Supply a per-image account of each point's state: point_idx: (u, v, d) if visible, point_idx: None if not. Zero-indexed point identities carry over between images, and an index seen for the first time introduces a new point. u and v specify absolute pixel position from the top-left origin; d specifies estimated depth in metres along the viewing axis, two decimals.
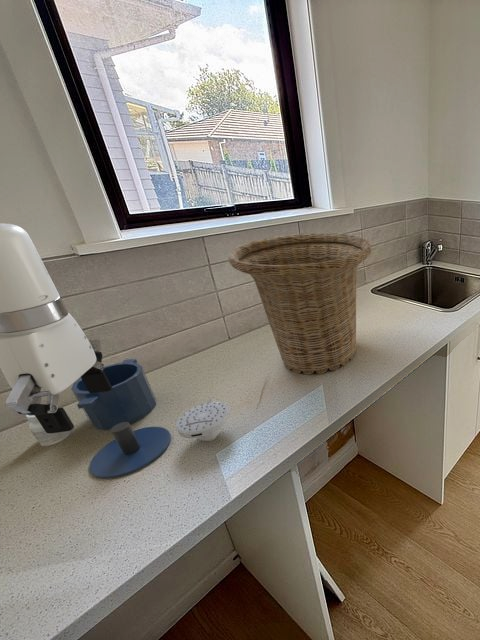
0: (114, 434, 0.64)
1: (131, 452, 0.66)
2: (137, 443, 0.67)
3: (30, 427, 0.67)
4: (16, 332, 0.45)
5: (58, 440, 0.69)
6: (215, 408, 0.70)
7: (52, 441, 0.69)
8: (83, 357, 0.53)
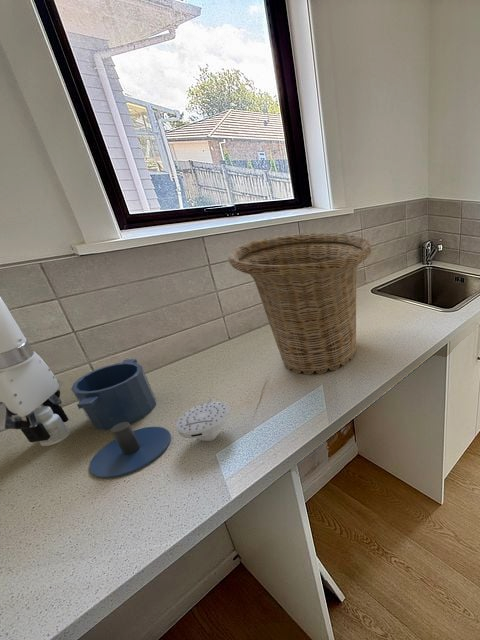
0: (114, 434, 0.64)
1: (131, 452, 0.66)
2: (137, 443, 0.67)
3: None
4: None
5: (58, 440, 0.69)
6: (215, 408, 0.70)
7: (52, 441, 0.69)
8: (47, 386, 0.67)
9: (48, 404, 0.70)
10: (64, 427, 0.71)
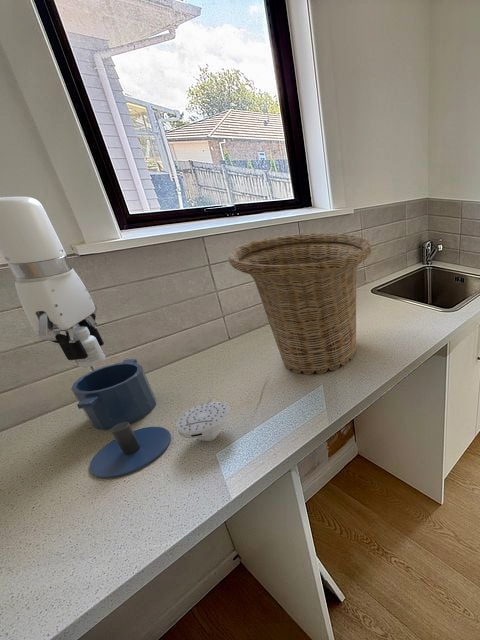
0: (114, 434, 0.64)
1: (131, 452, 0.66)
2: (137, 443, 0.67)
3: None
4: (34, 278, 0.59)
5: (95, 361, 0.70)
6: (215, 408, 0.70)
7: (89, 361, 0.69)
8: (84, 305, 0.68)
9: (84, 326, 0.70)
10: (100, 349, 0.71)
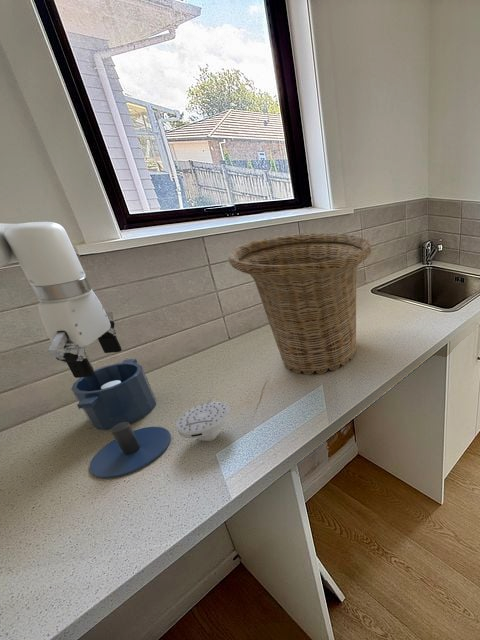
0: (114, 434, 0.64)
1: (131, 452, 0.66)
2: (137, 443, 0.67)
3: None
4: (56, 300, 0.62)
5: None
6: (215, 408, 0.70)
7: None
8: (101, 323, 0.70)
9: (105, 334, 0.74)
10: None
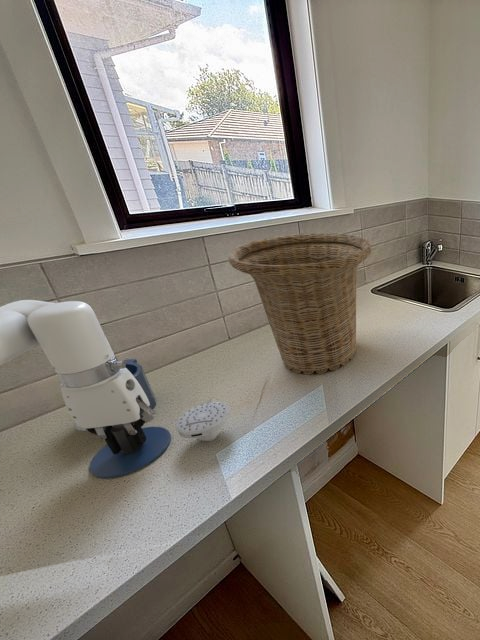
0: (114, 434, 0.64)
1: (131, 452, 0.66)
2: None
3: None
4: None
5: None
6: (215, 408, 0.70)
7: None
8: (114, 415, 0.61)
9: None
10: None
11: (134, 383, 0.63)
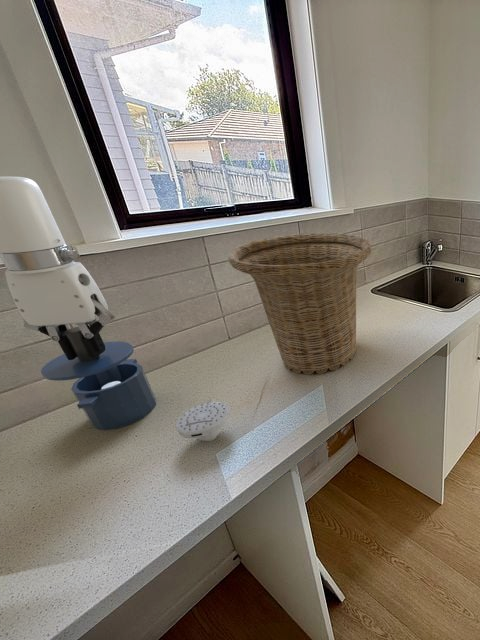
0: (68, 336, 0.59)
1: (88, 359, 0.62)
2: None
3: None
4: None
5: None
6: (215, 408, 0.70)
7: None
8: (65, 311, 0.56)
9: None
10: None
11: (89, 280, 0.58)
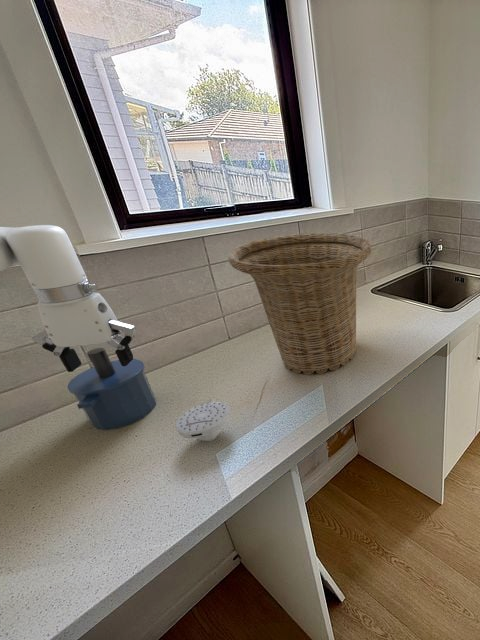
0: (90, 356, 0.70)
1: (106, 376, 0.72)
2: (112, 368, 0.73)
3: None
4: None
5: None
6: (215, 408, 0.70)
7: None
8: (87, 334, 0.67)
9: None
10: None
11: (106, 307, 0.69)
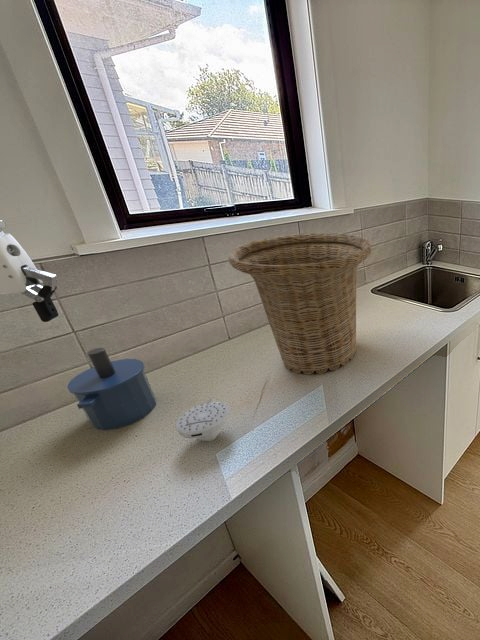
0: (90, 356, 0.70)
1: (106, 376, 0.72)
2: (112, 368, 0.73)
3: None
4: None
5: None
6: (215, 408, 0.70)
7: None
8: None
9: None
10: None
11: (19, 251, 0.59)
